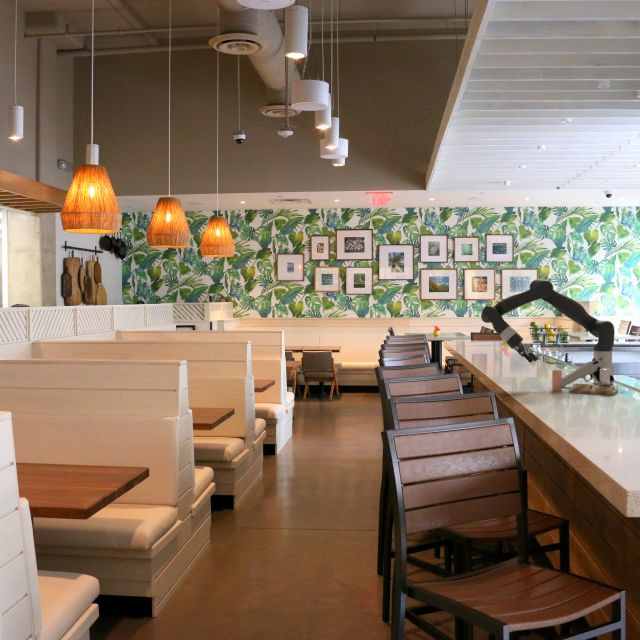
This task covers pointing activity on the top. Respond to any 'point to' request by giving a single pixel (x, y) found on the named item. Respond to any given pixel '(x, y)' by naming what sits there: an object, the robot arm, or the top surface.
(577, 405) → the top surface
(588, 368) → the handgun
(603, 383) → the pin
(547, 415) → the top surface
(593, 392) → the wooden compartment tray
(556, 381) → the pin
